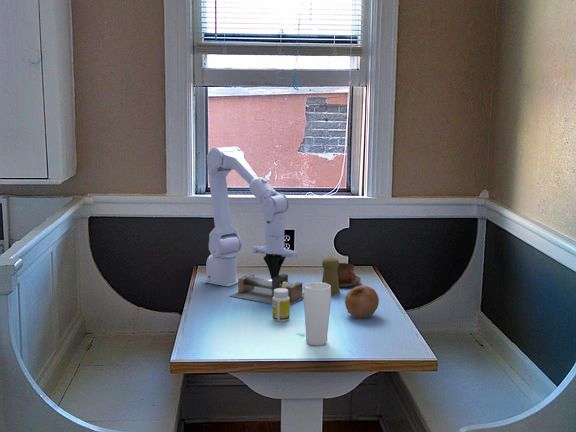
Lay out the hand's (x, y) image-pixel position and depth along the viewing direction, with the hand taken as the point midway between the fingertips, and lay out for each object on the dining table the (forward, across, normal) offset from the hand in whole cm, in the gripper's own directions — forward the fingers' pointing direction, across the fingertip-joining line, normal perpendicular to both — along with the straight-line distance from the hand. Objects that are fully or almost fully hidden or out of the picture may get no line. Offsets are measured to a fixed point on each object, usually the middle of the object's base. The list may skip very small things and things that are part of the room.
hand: (274, 278), depth 221 cm
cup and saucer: (+6, +11, +24) cm, 27 cm away
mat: (+6, -2, 0) cm, 6 cm away
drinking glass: (+6, +29, -28) cm, 41 cm away
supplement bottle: (+6, +12, -17) cm, 22 cm away
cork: (+6, +12, +13) cm, 19 cm away
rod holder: (+6, -2, 0) cm, 6 cm away
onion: (+6, +30, -3) cm, 31 cm away
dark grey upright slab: (+6, +2, 0) cm, 6 cm away
